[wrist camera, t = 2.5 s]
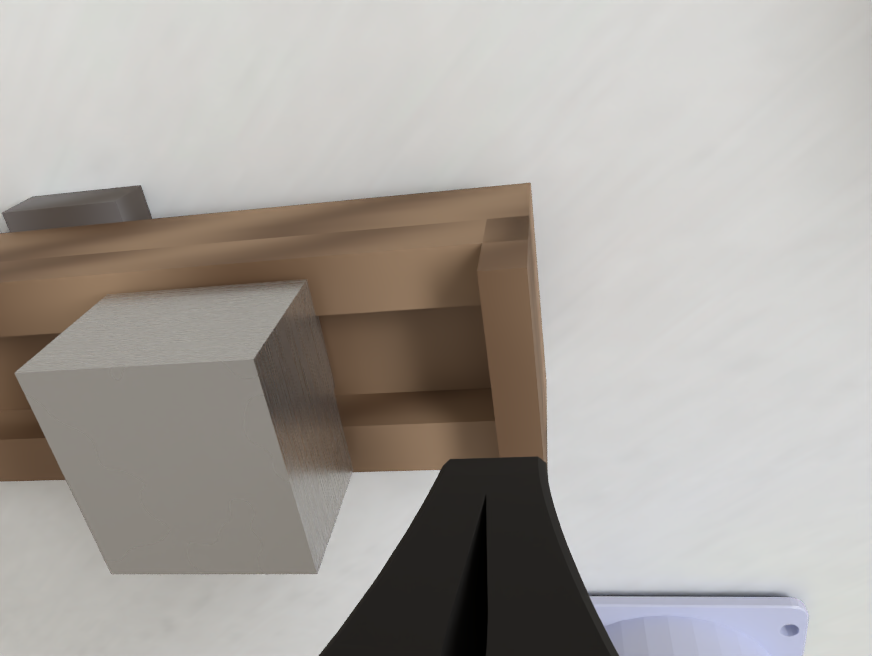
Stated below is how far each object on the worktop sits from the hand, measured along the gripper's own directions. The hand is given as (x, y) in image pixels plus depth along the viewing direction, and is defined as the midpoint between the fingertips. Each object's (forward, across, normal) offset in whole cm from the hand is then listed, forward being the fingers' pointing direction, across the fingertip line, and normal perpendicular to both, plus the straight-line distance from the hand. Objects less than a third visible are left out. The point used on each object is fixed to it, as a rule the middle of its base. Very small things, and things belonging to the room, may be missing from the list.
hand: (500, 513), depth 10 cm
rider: (+5, +6, 0) cm, 8 cm away
